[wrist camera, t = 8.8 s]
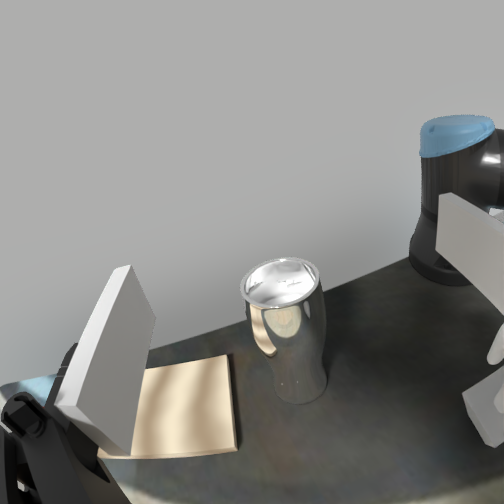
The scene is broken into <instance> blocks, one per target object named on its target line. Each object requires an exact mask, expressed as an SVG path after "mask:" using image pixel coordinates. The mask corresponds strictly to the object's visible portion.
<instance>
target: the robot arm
mask: <svg viewBox="0 0 504 504" xmlns="http://www.w3.org/2000/svg"><path fill="white" fill-rule="evenodd" d="M420 138H421V139H420V142H421V144H420V145H421V149H420V151H419V154H420V156H421V165H422V166H421V168H422V196H421V201H422V202H421V215H420V218H419V221H418V223H417V226H416V229H415V232H414V234H413V236H412V238H411V241H410V247H409V259H410V262H411V264H412V266H413V267H414V268H415V269H416V270H417V271H418V272H419V273H420V274H421V275H423V276H424V277H426V278H428V279H430V280H432V281H435V282H438V283H441V284H445V285H452V286H463V285H469V284H473V285H474V286H475V287H476V288H477V289H478V290H480V291H481V292H482V293H483V294H484V295H485V296H486V297H487V298H488V299H489V300H490V301H491V302H492V303H493V305H494V306H495V307H496V308H497V309H498V310H499V311H500V312H501V313H502V314H503V315H504V223H502V222H500V221H499V220H497V219H496V218H494V217H493V216H491V215H489V210H490V208H496V209H502V210H504V130H502V129H495V125H494V123H493V121H492V119H490V118H488V117H485V116H475V115H453V116H445V117H438V118H434V119H431V120H429V121H427V122H426V123H424V125H423V126H422V128H421V132H420ZM155 320H156V317H155V315H154V313H153V311H152V309H151V307H150V305H149V302H148V300H147V298H146V296H145V294H144V292H143V290H142V288H141V285H140V283H139V281H138V279H137V276H136V274H135V272H134V270H133V267H132V265H128V266H124V267H120V268H116V269H115V270H114V271H113V273H112V275H111V277H110V279H109V281H108V283H107V285H106V287H105V289H104V291H103V293H102V295H101V297H100V299H99V301H98V303H97V305H96V307H95V309H94V311H93V313H92V315H91V317H90V319H89V322H88V324H87V326H86V328H85V330H84V332H83V335H82V337H81V339H80V341H79V343H75V344H74V345H73V346H72V347H71V348H70V350H69V351H68V352H67V353H66V355H65V357H64V360H63V362H62V364H61V368H60V369H59V371H58V373H57V377H56V378H55V381H54V383H53V386H52V388H51V391H50V393H49V396H48V398H47V401H46V404H45V406H44V408H43V407H42V406H41V405H40V404H39V403H38V402H37V401H36V400H35V399H34V397H33V396H32V395H31V394H29V393H27V392H19V393H17V394H15V395H13V396H12V397H11V398H10V399H9V400H8V401H7V403H6V404H5V406H4V407H3V410H2V413H1V422H3V423H4V424H5V425H6V426H7V427H8V428H9V429H10V430H11V431H12V433H8V432H7V431H6V430H5V429H4V428H3V427H2V426H1V425H0V504H131V502H130V501H129V500H128V498H127V497H126V496H125V494H124V493H123V491H122V490H121V488H120V487H119V486H118V484H117V483H116V481H115V480H114V478H113V477H112V475H111V473H110V472H109V470H108V469H107V467H106V466H105V464H104V462H103V461H102V460H101V459H100V458H99V457H98V456H97V454H98V449H99V448H101V449H102V450H103V451H104V452H106V453H107V454H108V455H109V456H131V448H132V441H133V435H134V428H135V422H136V416H137V410H138V404H139V398H140V392H141V387H142V382H143V377H144V371H145V366H146V361H147V357H148V352H149V347H150V342H151V338H152V333H153V329H154V324H155ZM17 480H18V481H19V482H21V483H22V484H24V487H25V490H24V491H22V490H20V489H19V488H18V483H17Z"/></svg>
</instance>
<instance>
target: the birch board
mask: <svg viewBox="0 0 504 504" xmlns="http://www.w3.org/2000/svg"><path fill="white" fill-rule="evenodd" d="M232 451H238V449H237V440H236V430H235V421H234V411H233V401H232V390H231V379H230V368H229V360H228V357H227V355H223V356H218V357H213V358H208V359H203V360H198V361H192V362H187V363H181V364H176V365H170V366H164V367H158V368H151V369H145V371H144V377H143V382H142V387H141V392H140V398H139V404H138V410H137V416H136V422H135V428H134V435H133V441H132V448H131V456H109V455H108V454H107V453H106V452H104V451H103V450H102V449H101V448H99V449H98V454H97V456H98V457H99V458H113V459H156V458H176V457H190V456H200V455H210V454H218V453H225V452H232Z"/></svg>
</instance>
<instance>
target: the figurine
mask: <svg viewBox="0 0 504 504" xmlns="http://www.w3.org/2000/svg"><path fill="white" fill-rule="evenodd" d="M503 358H504V323H503V324H502V326H501V327H500V329H499V331H498V333H497V335H496V337H495V340H494V342H493V344H492V346H491V348H490V351H489V353H488V355H487V361H488V363H489V364H491V365H495V364H497V363H499V362H500V361H502V359H503ZM462 395H463V399H464V402H465V406H466V409H467V413H468V415H469V417H470V419H471V420H472V422H473V424H474V425H475V427H476V429H477V431H478V432H479V434H480V436H481V438H482V439H483V441H484V443H485V444H486V445H489V446H491V447H494V448H496V447H497V446H499V445H500V444H501V443H503V442H504V366H502V367H501V368H499V369H498V370H497V371H495V372H494V373H492V374H491V375H489V376H488V377H486V378H485V379H483V380H482V381H480V382H479V383H477V384H476V385H474V386H472V387H471V388H469V389H468V390H466V391H464V392H463V393H462Z"/></svg>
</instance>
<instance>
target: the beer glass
mask: <svg viewBox="0 0 504 504" xmlns="http://www.w3.org/2000/svg"><path fill="white" fill-rule="evenodd" d="M240 292H241V295H242V298H243V303H244V308H245V313H246V317H247V321H248V324H249V328H250V331H251V333H252V336H253V339H254V341H255V343H256V345H257V347H258V348H259V350H260V352H261V353H262V355H263V357H264V358H265V360H266V361H267V363H268V364H269V366H270V367H271V369H272V371H273V375H274V390H275V392H276V394H277V395H278V397H279V398H280V399H282V400H283V401H285V402H287V403H290V404H306V403H309V402H311V401H313V400H315V399H317V398H318V397H319V396H320V395H321V394H322V393H323V392H324V390H325V388H326V385H327V375H326V372H325V370H324V367H323V365H322V354H323V349H324V343H325V337H326V326H327V321H326V308H325V301H324V295H323V291H322V286H321V282H320V274H319V271H318V269H317V268H316V267H315V266H314V265H313V264H312V263H310V262H308V261H306V260H303V259H300V258H292V257H290V258H289V257H286V258H277V259H273V260H269V261H266V262H264V263H262V264H259V265H257V266H256V267H254V268H253V269H251V270H250V271H249V272H248V273H247V274H246V275H245V276H244V278H243V280H242V282H241V285H240Z"/></svg>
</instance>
